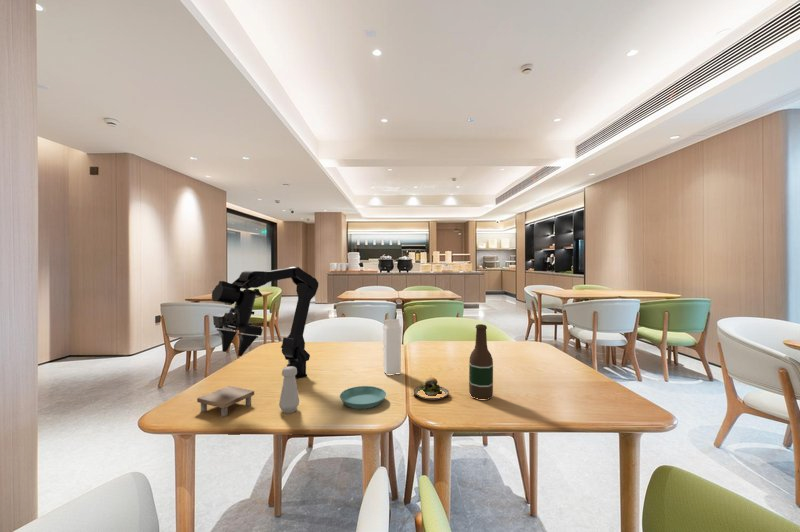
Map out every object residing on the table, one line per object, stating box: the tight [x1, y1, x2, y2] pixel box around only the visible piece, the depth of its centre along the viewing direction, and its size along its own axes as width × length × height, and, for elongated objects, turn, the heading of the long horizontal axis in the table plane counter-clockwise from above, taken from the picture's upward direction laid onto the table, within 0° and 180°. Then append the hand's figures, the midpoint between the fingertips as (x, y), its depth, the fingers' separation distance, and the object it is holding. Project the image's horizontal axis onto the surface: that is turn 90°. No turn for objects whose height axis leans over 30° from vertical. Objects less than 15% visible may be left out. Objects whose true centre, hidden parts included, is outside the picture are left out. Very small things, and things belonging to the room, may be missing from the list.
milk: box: [382, 318, 402, 374], centre depth 136 cm, size 6×6×22 cm
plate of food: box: [413, 376, 450, 400], centre depth 113 cm, size 12×12×8 cm
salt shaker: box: [278, 366, 300, 414], centre depth 100 cm, size 6×6×13 cm
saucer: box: [339, 385, 387, 410], centre depth 107 cm, size 15×15×3 cm
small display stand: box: [196, 385, 255, 418], centre depth 102 cm, size 11×11×4 cm
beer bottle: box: [468, 324, 494, 399], centre depth 112 cm, size 8×8×24 cm
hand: (231, 353), depth 110 cm, fingers open, 9 cm apart
